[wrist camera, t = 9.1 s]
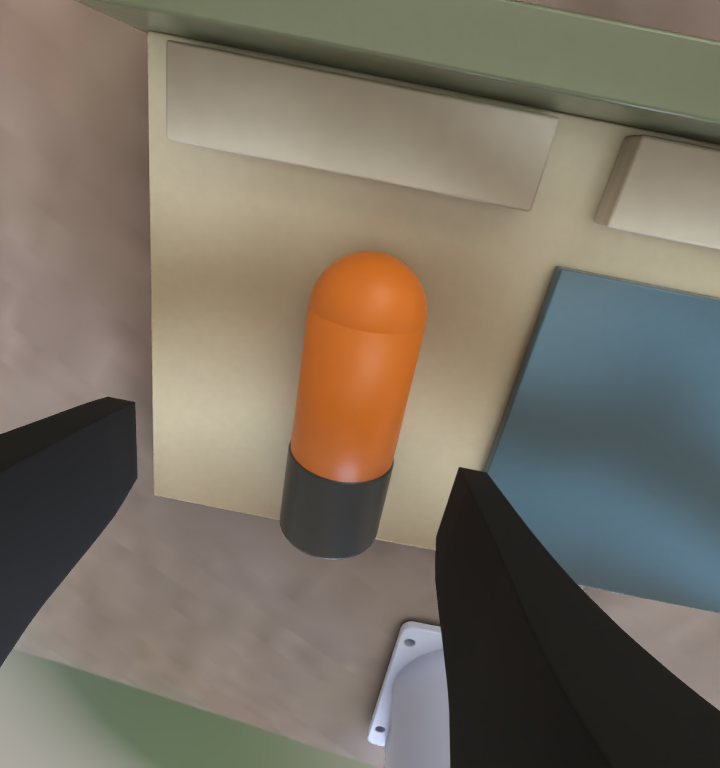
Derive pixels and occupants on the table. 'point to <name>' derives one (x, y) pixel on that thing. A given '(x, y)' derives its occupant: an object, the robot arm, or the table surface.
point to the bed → (449, 260)
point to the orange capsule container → (351, 402)
